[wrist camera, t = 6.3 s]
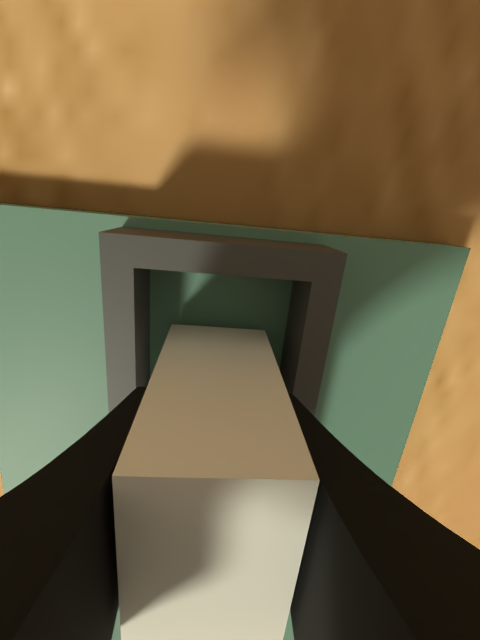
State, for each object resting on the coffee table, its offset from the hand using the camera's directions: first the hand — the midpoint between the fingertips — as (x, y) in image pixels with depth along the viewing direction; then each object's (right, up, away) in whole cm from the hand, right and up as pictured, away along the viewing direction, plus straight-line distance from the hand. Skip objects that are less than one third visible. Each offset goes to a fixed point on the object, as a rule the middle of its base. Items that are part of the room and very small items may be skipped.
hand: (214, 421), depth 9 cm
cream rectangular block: (0, 0, +2) cm, 2 cm away
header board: (-1, -4, +6) cm, 7 cm away
